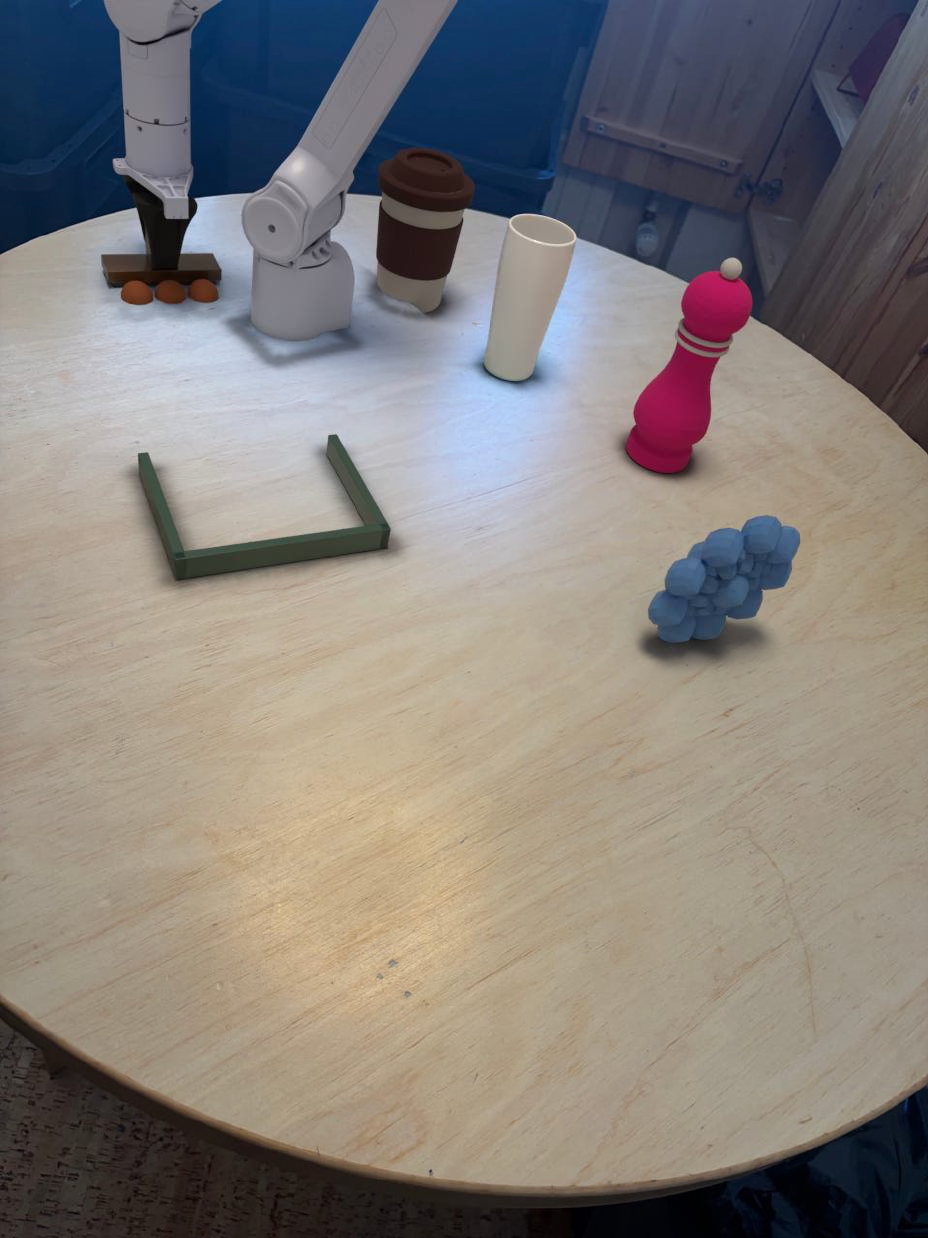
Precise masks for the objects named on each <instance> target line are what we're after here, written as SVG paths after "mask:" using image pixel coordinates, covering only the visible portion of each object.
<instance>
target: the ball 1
mask: <svg viewBox="0 0 928 1238" xmlns="http://www.w3.org/2000/svg"><path fill="white" fill-rule="evenodd" d="M120 299H121V300H122V301H123V302H125V303H127V304H129V305H134V306H146V305H148V304H150V303H152V302H153V301H154V293H153V291H152V290H151V288H150V286H147V285H146V284H145V283H143V282H141V281H130V282H128V283H126V284H125V285H124V286H123V287H121V291H120Z"/></svg>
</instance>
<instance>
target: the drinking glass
mask: <svg viewBox="0 0 928 1238" xmlns="http://www.w3.org/2000/svg"><path fill="white" fill-rule="evenodd" d="M577 239H578V238H577V233H576V232H575V231H574V230H573V229H572V227H570V226H568V225H567V224H565V223H564V222H562V221H560V220H559V219H555V218H552V217H549V216H545V215H542V214H535V213H522V214H516V215H514V216H512V217H510V218H509V219H508V223H507V226H506V230H505V232H504V237H503V241H502V244H501V249H500V254H499V259H498V264H497V270H496V277H495V284H494V291H493V299H492V306H491V314H490V319H489V328H488V334H487V340H486V347H485V350H484V354H483V365H484V367H485V369H486V370H487V371H488V372H489V373H490V374H491V375H493V376H495V377H496V378H499V379H501V380H505V381H508V382H509V381H510V382H519V381H520V382H521V381H525V380H526V379H528V378H530V377H531V376H532V374H534V371H535V368H536V363H537V360H538V356H539V354H540V351H541V349H542V346H543V343H544V340H545V337H546V334H547V333H548V329H549V326H550V324H551V321H552V319H553V316H554V313H555V311H556V308H557V306H558V304H559V300H560V297H561V295H562V293H563V292H562V291H563V289H564V287H565V284H566V282H567V278H568V275H569V272H570V268H571V265H572V261H573V256H574V254H575V253H574V252H575V249H576V243H577Z"/></svg>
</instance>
